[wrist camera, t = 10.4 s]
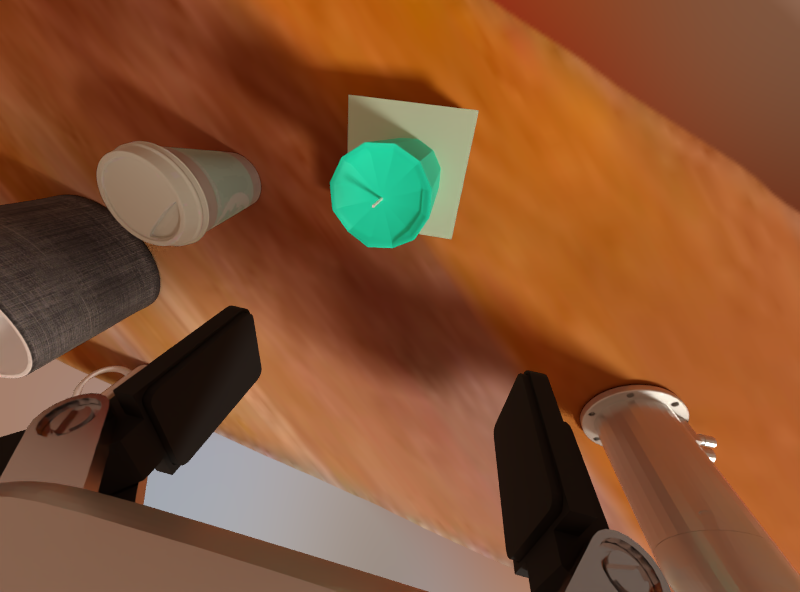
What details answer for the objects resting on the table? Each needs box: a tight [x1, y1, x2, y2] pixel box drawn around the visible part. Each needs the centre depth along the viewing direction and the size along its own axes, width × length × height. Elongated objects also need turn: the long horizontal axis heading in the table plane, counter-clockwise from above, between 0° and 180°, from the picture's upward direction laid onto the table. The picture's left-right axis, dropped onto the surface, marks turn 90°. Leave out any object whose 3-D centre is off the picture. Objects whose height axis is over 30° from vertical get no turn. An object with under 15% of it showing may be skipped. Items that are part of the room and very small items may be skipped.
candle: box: [330, 138, 441, 248], centre depth 20 cm, size 6×6×12 cm
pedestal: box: [348, 95, 478, 239], centre depth 27 cm, size 10×10×5 cm
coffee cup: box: [97, 141, 261, 246], centre depth 28 cm, size 8×9×12 cm
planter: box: [0, 195, 160, 378], centre depth 36 cm, size 18×18×16 cm
